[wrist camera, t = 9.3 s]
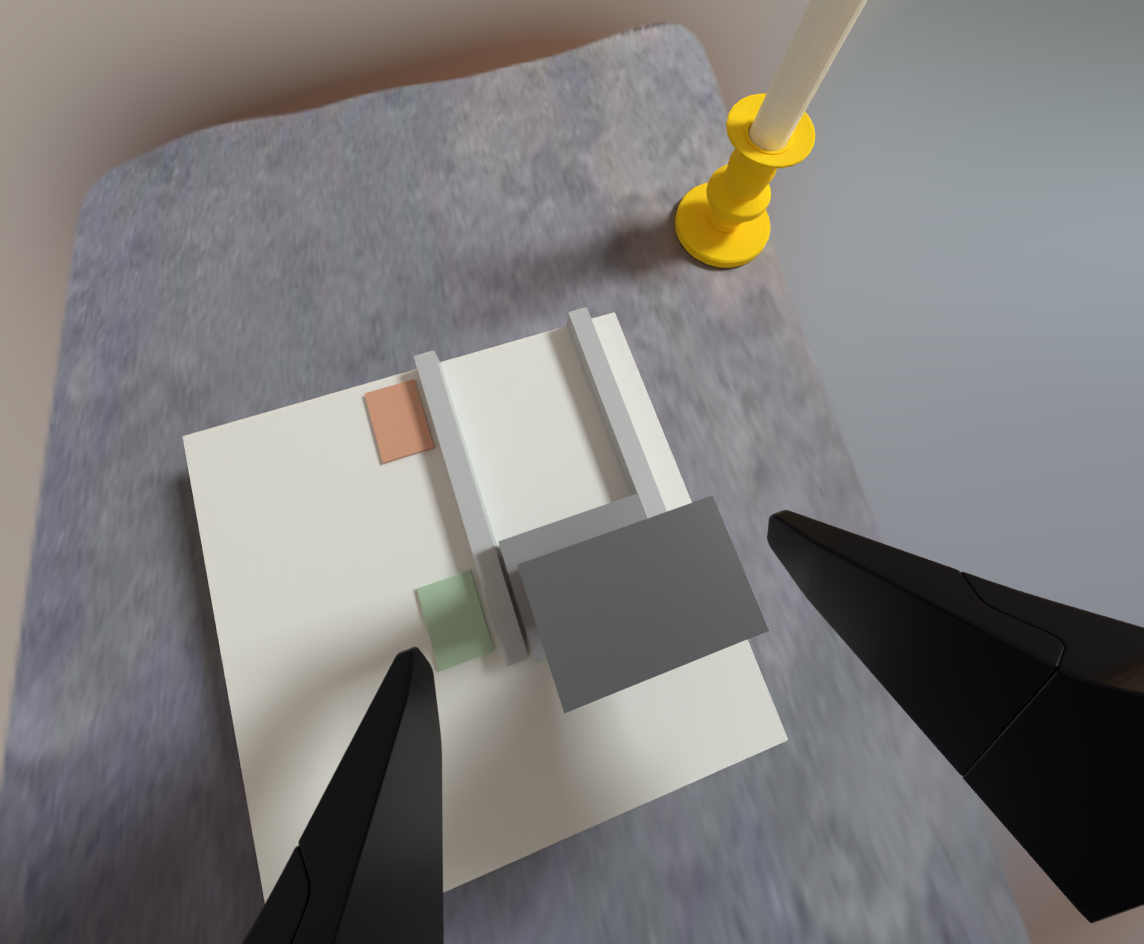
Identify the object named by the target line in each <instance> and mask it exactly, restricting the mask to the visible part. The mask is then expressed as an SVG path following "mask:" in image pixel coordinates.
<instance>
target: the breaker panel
mask: <svg viewBox="0 0 1144 944" xmlns="http://www.w3.org/2000/svg"><path fill="white" fill-rule="evenodd" d="M414 359H415V362H416V366H417V369H416V370H412V371H409V372H405V373H402V374H398V375H395V376H391V377H388V378H384V379H381V380H377V381H374V382H370V383H367V384H363V385H360V386H356V387H353V388H349V389H346V390H342V391H339V392H336V393H332V394H329V395H325V396H322V397H318V398H315V399H311V400H308V401H304V402H301V403H297V404H294V405H290V406H287V407H283V408H280V409H276V410H273V411H269V412H266V413H262V414H259V415H255V416H252V417H249V418H245V419H242V420H238V421H235V422H231V423H228V424H224V425H221V426H217V427H214V428H210V429H207V430H203V431H200V432H196V433H193V434H189V435H186V436H183V441H184V447H185V453H186V458H187V464H188V470H189V475H190V481H191V487H192V492H193V498H194V504H195V509H196V515H197V521H198V526H199V532H200V538H201V543H202V549H203V555H204V560H205V566H206V572H207V577H208V583H209V589H210V594H211V600H212V606H213V611H214V617H215V623H216V629H217V634H218V640H219V646H220V651H221V657H222V663H223V668H224V674H225V680H226V685H227V691H228V697H229V702H230V708H231V714H232V719H233V725H234V731H235V736H236V742H237V748H238V753H239V759H240V765H241V770H242V776H243V782H244V787H245V793H246V799H247V805H248V810H249V816H250V822H251V827H252V833H253V839H254V844H255V850H256V856H257V861H258V867H259V873H260V878H261V884H262V890H263V895H264V901H265V903H266V901H267V899H268V897H269V895H270V893H271V892H272V890H273V888H274V886H275V884H276V882H277V881H278V879H279V877H280V875H281V873H282V871H283V869H284V868H285V866H286V864H287V862H288V860H289V858H290V856H291V854H292V852H293V850H294V849H295V847H296V846H299V844H298V842H299V839H300V837H301V835H302V834H303V832H304V830H305V828H306V826H307V824H308V822H309V820H310V818H311V816H312V814H313V813H314V811H315V809H316V807H317V805H318V803H319V801H320V799H321V797H322V795H323V793H324V792H325V790H326V788H327V786H328V784H329V782H330V780H331V778H332V776H333V774H334V772H335V771H336V769H337V767H338V765H339V763H340V761H341V759H342V757H343V755H344V753H345V751H346V750H347V748H348V746H349V744H350V742H351V740H352V738H353V736H354V734H355V732H356V731H357V729H358V727H359V725H360V723H361V721H362V719H363V717H364V715H365V713H366V711H367V710H368V708H369V706H370V704H371V702H372V700H373V698H374V696H375V694H376V692H377V690H378V689H379V687H380V685H381V683H382V681H383V679H384V677H385V675H386V673H387V671H388V669H389V668H390V666H391V664H392V662H393V660H394V658H395V656H396V655H397V654H398V653H399V652H400V651H403V650H405V649H408V648H411V647H414V646H415V647H418V648H419V649H420V651H421V652H422V653H423V655H424V656H425V658H426V659H427V660H428V662H429V663H430V665H431V667H432V669H433V673H434V680H435V689H436V697H437V706H438V714H439V722H440V731H441V741H442V816H443V893H444V892H446V891H448V890H451V889H453V888H455V887H457V886H460V885H462V884H464V883H466V882H469V881H471V880H473V879H475V878H478V877H480V876H482V875H485V874H487V873H489V872H491V871H494V870H496V869H498V868H500V867H503V866H505V865H507V864H509V863H512V862H514V861H516V860H518V859H521V858H523V857H525V856H527V855H530V854H532V853H534V852H536V851H539V850H541V849H543V848H545V847H548V846H550V845H552V844H555V843H557V842H559V841H561V840H564V839H566V838H568V837H570V836H573V835H575V834H577V833H579V832H582V831H584V830H586V829H588V828H591V827H593V826H595V825H597V824H600V823H602V822H604V821H606V820H609V819H611V818H613V817H616V816H618V815H620V814H622V813H625V812H627V811H629V810H631V809H634V808H636V807H638V806H640V805H643V804H645V803H647V802H649V801H652V800H654V799H656V798H658V797H661V796H663V795H665V794H667V793H670V792H672V791H674V790H676V789H679V788H681V787H683V786H686V785H688V784H690V783H692V782H695V781H697V780H699V779H701V778H704V777H706V776H708V775H710V774H713V773H715V772H717V771H719V770H722V769H724V768H726V767H728V766H731V765H733V764H735V763H737V762H740V761H742V760H744V759H747V758H749V757H751V756H753V755H756V754H758V753H760V752H762V751H765V750H767V749H769V748H771V747H774V746H776V745H778V744H780V743H783V742H785V741H787V740H788V738H787V736H786V733H785V731H784V728H783V726H782V723H781V721H780V718H779V716H778V714H777V711H776V709H775V706H774V704H773V701H772V699H771V696H770V694H769V691H768V689H767V686H766V684H765V682H764V679H763V677H762V674H761V672H760V669H759V667H758V664H757V662H756V659H755V657H754V654H753V652H752V650H751V647H750V645H749V642H748V640H745V641H742V642H740V643H737V644H735V645H732V646H730V647H727V648H725V649H723V650H720V651H718V652H715V653H713V654H710V655H708V656H705V657H703V658H700V659H698V660H695V661H693V662H690V663H688V664H685V665H683V666H681V667H678V668H676V669H673V670H671V671H668V672H666V673H663V674H661V675H658V676H656V677H653V678H651V679H648V680H646V681H643V682H641V683H639V684H636V685H634V686H631V687H629V688H626V689H624V690H621V691H619V692H616V693H614V694H611V695H609V696H606V697H604V698H601V699H599V700H597V701H594V702H592V703H589V704H587V705H584V706H582V707H579V708H577V709H574V710H572V711H569V712H567V713H564V711H563V708H562V705H561V702H560V699H559V695H558V692H557V689H556V686H555V683H554V680H553V676H552V673H551V670H550V667H549V664H548V661H547V659H545V660H543V661H540V662H537V663H536V661H535V658H534V655H533V652H532V648H531V645H530V642H529V639H528V636H527V632H526V629H525V626H524V623H523V620H522V616H521V613H520V610H519V607H518V603H517V600H516V597H515V594H514V591H513V587H512V584H511V581H510V578H509V575H508V571H507V568H506V565H505V562H504V558H503V555H502V552H501V549H500V546H499V542H498V541H501V540H504V539H507V538H510V537H513V536H516V535H518V534H521V533H524V532H527V531H530V530H533V529H536V528H539V527H542V526H545V525H547V524H550V523H553V522H556V521H559V520H562V519H565V518H568V517H571V516H573V515H576V514H579V513H582V512H585V511H588V510H591V509H594V508H597V507H599V506H602V505H605V504H608V503H611V502H614V501H617V500H620V499H623V498H626V497H628V496H631V495H634V494H638V497H639V500H640V502H641V505H642V508H643V510H644V513H645V515H646V518H647V519H648V518H650V517H653V516H656V515H659V514H662V513H664V512H667V511H670V510H673V509H676V508H679V507H681V506H684V505H687V504H690V503H692V502H691V499H690V497H689V494H688V492H687V489H686V487H685V485H684V482H683V480H682V477H681V475H680V472H679V470H678V467H677V465H676V462H675V460H674V457H673V455H672V453H671V450H670V448H669V445H668V443H667V440H666V438H665V435H664V433H663V430H662V428H661V425H660V423H659V421H658V418H657V416H656V413H655V411H654V408H653V406H652V403H651V401H650V398H649V396H648V393H647V391H646V389H645V386H644V384H643V381H642V379H641V376H640V374H639V371H638V369H637V366H636V364H635V361H634V359H633V356H632V354H631V352H630V349H629V347H628V344H627V342H626V339H625V337H624V334H623V332H622V329H621V327H620V324H619V322H618V320H617V317H616V315H615V312H614V313H610V314H607V315H603V316H600V317H596V318H593V319H591V317H590V314H589V312H588V309H587V307H585V308H582V309H578V310H575V311H571V312H568V323H567V326H565V327H562V328H558V329H555V330H551V331H548V332H544V333H541V334H537V335H534V336H530V337H527V338H523V339H520V340H516V341H513V342H509V343H506V344H503V345H499V346H496V347H492V348H489V349H485V350H482V351H478V352H475V353H471V354H468V355H464V356H461V357H457V358H454V359H450V360H447V361H443V362H440V361H439V359H438V357H437V355H436V353H435V352H434V350H433V351H430V352H426V353H423V354H419V355H416V356H414Z"/></svg>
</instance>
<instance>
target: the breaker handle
mask: <svg viewBox="0 0 1144 944" xmlns="http://www.w3.org/2000/svg"><path fill="white" fill-rule="evenodd" d="M498 542H499V546H500V549H501V552H502V555H503V558H504V562H505V565H506V568H507V571H508V575H509V578H510V581H511V584H512V587H513V591H514V594H515V597H516V600H517V603H518V607H519V610H520V613H521V616H522V620H523V623H524V626H525V629H526V632H527V636H528V639H529V642H530V645H531V648H532V652H533V655H534V658H535V661H536V663H537V662H540V661H543V660H545V659H547V661H548V664H549V667H550V670H551V673H552V676H553V680H554V683H555V686H556V689H557V692H558V695H559V699H560V702H561V705H562V708H563V711H564V713H567V712H569V711H572V710H574V709H577V708H579V707H582V706H584V705H587V704H589V703H592V702H594V701H597V700H599V699H601V698H604V697H606V696H609V695H611V694H614V693H616V692H619V691H621V690H624V689H626V688H629V687H631V686H634V685H636V684H639V683H641V682H643V681H646V680H648V679H651V678H653V677H656V676H658V675H661V674H663V673H666V672H668V671H671V670H673V669H676V668H678V667H681V666H683V665H685V664H688V663H690V662H693V661H695V660H698V659H700V658H703V657H705V656H708V655H710V654H713V653H715V652H718V651H720V650H723V649H725V648H727V647H730V646H732V645H735V644H737V643H740V642H742V641H745V640H747V639H750V638H752V637H755V636H757V635H760V634H762V633H765V632H767V631H769V630H768V628H767V625H766V623H765V621H764V618H763V616H762V613H761V611H760V609H759V606H758V604H757V601H756V599H755V597H754V594H753V592H752V589H751V587H750V585H749V582H748V580H747V577H746V575H745V573H744V570H743V568H742V565H741V563H740V561H739V558H738V556H737V553H736V551H735V549H734V546H733V544H732V541H731V539H730V537H729V534H728V532H727V529H726V527H725V525H724V522H723V520H722V518H721V515H720V513H719V510H718V508H717V506H716V503H715V501H714V498H713V496H710V497H707V498H704V499H701V500H698V501H695V502H693V503H690V504H687V505H684V506H681V507H679V508H676V509H673V510H670V511H667V512H664V513H662V514H659V515H656V516H653V517H650V518H648V519H647V518H646V515H645V513H644V510H643V508H642V505H641V502H640V500H639V497H638V494H634V495H631V496H628V497H626V498H623V499H620V500H617V501H614V502H611V503H608V504H605V505H602V506H599V507H597V508H594V509H591V510H588V511H585V512H582V513H579V514H576V515H573V516H571V517H568V518H565V519H562V520H559V521H556V522H553V523H550V524H547V525H545V526H542V527H539V528H536V529H533V530H530V531H527V532H524V533H521V534H518V535H516V536H513V537H510V538H507V539H504V540H501V541H498Z"/></svg>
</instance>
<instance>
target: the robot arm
mask: <svg viewBox="0 0 1144 944" xmlns="http://www.w3.org/2000/svg"><path fill="white" fill-rule="evenodd" d="M767 540H768V543H769V546H770V547H771V549H772V550H773V552H774V553H775V554H776V556H777V557H778V559H779V560H780V562H781V563H782V564H783V566H784V567H785V569H786V570H787V571H788V573H789V574H790V576H791V577H792V579H793V580H794V581H795V583H796V584H797V586H798V587H799V588H800V590H801V591H802V592H803V594H804V595H805V596H806V598H807V599H808V600H809V601H810V602H811V604H812V605H813V606H814V607H815V608H816V609H817V611H818V612H819V613H820V614H821V615H822V616H823V618H824V619H825V620H826V621H827V622H828V623H829V624H830V626H831V627H832V628H833V629H834V630H835V631H836V632H837V634H838V635H839V636H840V637H841V638H842V639H843V641H844V642H845V643H846V644H847V645H848V646H849V647H850V649H851V650H852V651H853V652H854V653H855V654H856V655H857V657H858V658H859V659H860V660H861V661H862V662H863V664H864V665H865V666H866V667H867V668H868V669H869V670H870V672H871V673H872V674H873V675H874V676H875V677H876V678H877V680H878V681H879V682H880V683H881V684H882V685H883V686H884V688H885V689H886V690H887V691H888V692H889V693H890V695H891V696H892V697H893V698H894V699H895V700H896V701H897V703H898V704H899V705H900V706H901V707H902V708H903V709H904V711H905V712H906V713H907V714H908V715H909V716H910V718H911V719H912V720H913V721H914V722H915V723H916V724H917V726H918V727H919V728H920V729H921V730H922V731H923V732H924V734H925V735H926V736H927V737H928V738H929V739H930V741H931V742H932V743H933V744H934V745H935V746H936V747H937V749H938V750H939V751H940V752H941V753H942V754H943V755H944V757H945V758H946V759H947V760H948V761H949V762H950V763H951V765H952V766H953V767H954V768H955V769H956V770H957V772H958V773H959V774H960V775H962V776H963V779H964V780H965V781H966V782H967V783H968V785H969V786H970V787H971V788H972V789H973V790H974V791H975V793H976V794H977V795H978V796H979V797H980V798H981V800H982V801H983V802H984V803H985V804H986V805H987V806H988V807H989V809H990V810H991V811H992V812H993V813H994V814H995V816H996V817H997V818H998V819H999V820H1000V821H1001V823H1003V825H1004V826H1005V827H1006V828H1007V829H1008V831H1009V832H1010V833H1011V834H1012V835H1013V836H1014V837H1015V839H1016V840H1017V841H1018V842H1019V843H1020V844H1021V845H1022V846H1023V848H1024V849H1025V850H1026V851H1027V852H1028V853H1029V855H1030V856H1031V857H1032V858H1033V859H1034V860H1035V861H1036V863H1037V864H1038V865H1039V866H1040V867H1041V868H1042V869H1043V871H1044V872H1045V873H1046V874H1047V875H1048V876H1049V877H1050V879H1051V880H1052V881H1053V882H1054V883H1055V885H1056V886H1057V887H1058V888H1059V889H1060V890H1061V891H1062V893H1063V894H1064V895H1065V896H1066V897H1067V898H1068V899H1069V901H1070V902H1071V903H1072V904H1073V905H1074V906H1075V907H1076V908H1077V910H1078V911H1079V912H1080V913H1081V914H1082V915H1083V916H1084V917H1085V918H1086V919H1087V920H1088V921H1089V922H1090V923H1095V922H1098V921H1101V920H1103V919H1106V918H1109V917H1112V916H1115V915H1118V914H1121V913H1123V912H1126V911H1129V910H1132V909H1135V908H1137V907H1140V906H1143V905H1144V628H1143V627H1140V626H1136V625H1132V624H1129V623H1126V622H1123V621H1119V620H1116V619H1112V618H1109V617H1106V616H1102V615H1099V614H1095V613H1092V612H1088V611H1085V610H1082V609H1078V608H1075V607H1071V606H1068V605H1065V604H1061V603H1058V602H1054V601H1051V600H1048V599H1045V598H1041V597H1038V596H1034V595H1031V594H1028V593H1024V592H1022V591H1018V590H1015V589H1012V588H1009V587H1006V586H1003V585H1000V584H997V583H994V582H991V581H988V580H985V579H983V578H980V577H977V576H974V575H971V574H968V573H965V572H959V570H956V569H954V568H951V567H948V566H945V565H942V564H940V563H937V562H934V561H931V560H928V559H925V558H922V557H919V556H916V555H914V554H911V553H908V552H905V551H903V550H900V549H897V548H894V547H891V546H888V545H885V544H883V543H880V542H877V541H874V540H871V539H868V538H866V537H863V536H860V535H857V534H854V533H851V532H848V531H846V530H843V529H840V528H837V527H834V526H831V525H829V524H826V523H823V522H820V521H817V520H814V519H811V518H809V517H806V516H803V515H800V514H797V513H794V512H791V511H788V510H783V511H780V512H777V513H775V514H772V515H771V516H770V517H769V524H768V534H767ZM298 844H299V846H296V847H295V849H294V850H293V852H292V854H291V856H290V858H289V860H288V862H287V864H286V866H285V868H284V869H283V871H282V873H281V875H280V877H279V879H278V881H277V882H276V884H275V886H274V888H273V890H272V892H271V893H270V895H269V897H268V899H267V901H266V903H265V904H264V906H263V908H262V910H261V912H260V914H259V915H258V917H257V919H256V921H255V922H254V924H253V926H252V927H251V929H250V931H249V933H248V934H247V936H246V938H245V939H244V941H243V943H242V944H444V943H443V816H442V741H441V731H440V722H439V714H438V706H437V697H436V689H435V680H434V673H433V669H432V667H431V665H430V663H429V662H428V660H427V659H426V658H425V656H424V655H423V653H422V652H421V651H420V649H419V648H418V647H415V646H414V647H411V648H408V649H405V650H403V651H400V652H399V653H398V654H397V655H396V656H395V658H394V660H393V662H392V664H391V666H390V668H389V669H388V671H387V673H386V675H385V677H384V679H383V681H382V683H381V685H380V687H379V689H378V690H377V692H376V694H375V696H374V698H373V700H372V702H371V704H370V706H369V708H368V710H367V711H366V713H365V715H364V717H363V719H362V721H361V723H360V725H359V727H358V729H357V731H356V732H355V734H354V736H353V738H352V740H351V742H350V744H349V746H348V748H347V750H346V751H345V753H344V755H343V757H342V759H341V761H340V763H339V765H338V767H337V769H336V771H335V772H334V774H333V776H332V778H331V780H330V782H329V784H328V786H327V788H326V790H325V792H324V793H323V795H322V797H321V799H320V801H319V803H318V805H317V807H316V809H315V811H314V813H313V814H312V816H311V818H310V820H309V822H308V824H307V826H306V828H305V830H304V832H303V834H302V835H301V837H300V839H299V842H298Z"/></svg>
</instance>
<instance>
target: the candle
mask: <svg viewBox="0 0 1144 944" xmlns="http://www.w3.org/2000/svg"><path fill="white" fill-rule="evenodd" d="M866 1H867V0H811V2H810V4H809V6H808V8H807V10H806V12H805V14H804V17H803V19H802V21H801V23H800V25H799V27H798V29H797V32H796V33H795V35H794V37H793V40H792V42H791V44H790V46H789V48H788V50H787V52H786V54H785V56H784V58H783V61H782V63H781V65H780V67H779V69H778V71H777V73H776V75H775V77H774V80H773V82H772V84H771V86H770V88H769V90H768V92H767V94H756V95H750V96H748V97H745V98H743V99H741V100H740V101H739V102H738V103H736V104H735V105H734V106H733V108H732V109H731V111H730V112H729V114H728V118H727V123H726V127H727V134H728V137H729V139H730V141H731V143H732V145H733V146H734V147H735V150H734V151H733V153H732V154H731V156H730V159H729V162H728V165H725V166H723V167H720V168H719V169H718V170H716V171H715V172H714V173H713V175H712V176H711V178H710V180H709V182H708V183H704V184H701V185H699V186H697V187H695V188H693V189H692V190H690V191H689V192H688V193H687V194H686V195H685V196H684V197H683V199H682V201H681V202H680V204H679V206H678V209H677V213H676V217H675V230H676V233H677V236H678V239H679V241H680V242H681V244H682V245H683V247H684V248H685V249H686V251H687V252H689V253H690V254H691V255H692V256H693V257H694V258H696V259H697V260H699V261H701V262H703V263H705V264H708V265H711V266H715V267H724V268H732V267H737V266H741V265H744V264H746V263H748V262H750V261H752V260H753V259H754V258H755V257H756V256H757V255H758V254H759V253H760V252H761V251H762V249H763V248H764V246H765V244H766V242H767V241H768V239H769V234H770V220H769V217H768V214H767V212H766V208H767V206H768V204H769V202H770V198H771V190H770V186H769V183H770V181H771V180H772V179H773V177H774V175H775V173H776V170H777V168H784V167H790V166H793V165H795V164H797V163H799V162H801V161H802V160H803V159H804V158H806V157H807V156H808V155H809V153H810V151H811V150H812V148H813V146H814V142H815V130H814V126H813V124H812V121H811V119H810V117H809V116H808V115H807V114H806V112H805V110H806V108H807V107H808V105H809V103H810V101H811V99H812V98H813V96H814V94H815V92H816V91H817V89H818V87H819V85H820V83H821V82H822V80H823V78H824V76H825V74H826V73H827V71H828V69H829V68H830V66H831V64H832V62H833V60H834V59H835V57H836V55H837V53H838V52H839V50H840V48H841V46H842V44H843V43H844V41H845V39H846V37H847V36H848V34H849V32H850V30H851V28H852V27H853V25H854V23H855V21H856V20H857V18H858V16H859V14H860V12H861V11H862V9H863V7H864V5H865V3H866Z"/></svg>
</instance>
